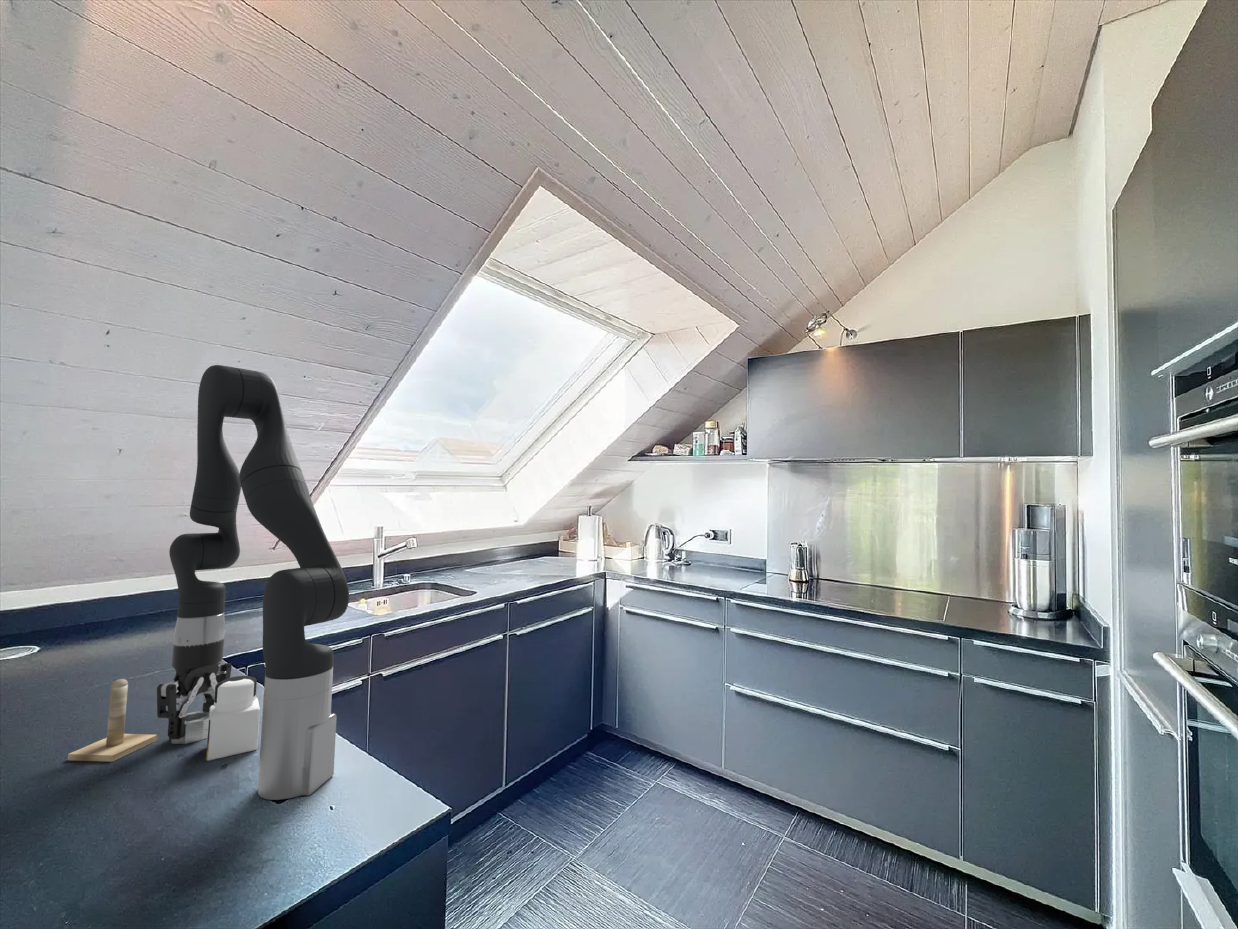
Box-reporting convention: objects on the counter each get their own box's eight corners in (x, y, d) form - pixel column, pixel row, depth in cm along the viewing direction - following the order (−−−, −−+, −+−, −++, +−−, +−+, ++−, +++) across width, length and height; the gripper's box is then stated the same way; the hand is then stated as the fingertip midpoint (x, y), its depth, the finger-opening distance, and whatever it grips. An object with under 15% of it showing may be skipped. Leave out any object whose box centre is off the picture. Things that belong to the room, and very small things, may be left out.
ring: (221, 730, 100) (222, 711, 100) (194, 744, 94) (195, 724, 94) (191, 729, 100) (192, 710, 100) (162, 743, 94) (163, 723, 94)
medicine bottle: (207, 746, 93) (211, 677, 94) (255, 736, 97) (259, 670, 98) (206, 762, 87) (211, 688, 88) (257, 750, 92) (261, 680, 93)
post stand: (157, 740, 95) (162, 672, 96) (112, 761, 87) (118, 687, 88) (115, 739, 95) (121, 671, 96) (67, 760, 88) (74, 686, 89)
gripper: (185, 649, 91) (177, 748, 90) (247, 630, 105) (242, 715, 104) (144, 648, 91) (136, 747, 90) (212, 629, 106) (206, 714, 104)
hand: (193, 730), depth 97 cm, fingers open, 6 cm apart
